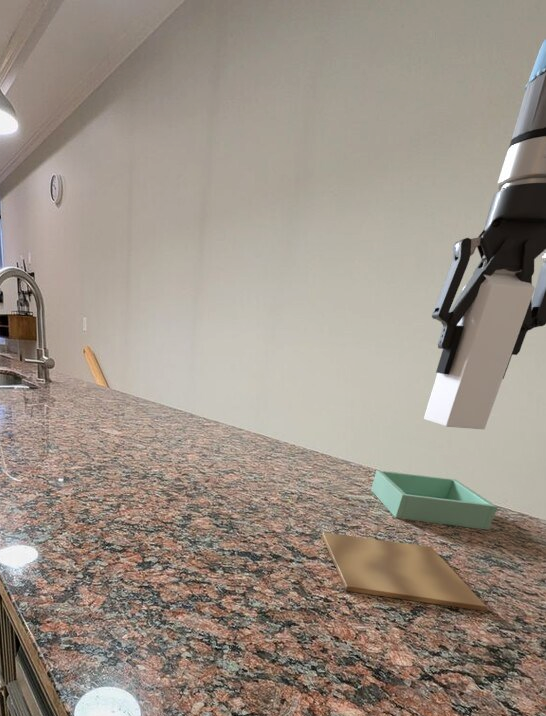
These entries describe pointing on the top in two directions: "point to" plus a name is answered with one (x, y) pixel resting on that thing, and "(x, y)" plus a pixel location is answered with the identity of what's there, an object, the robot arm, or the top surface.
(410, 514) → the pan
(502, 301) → the milk
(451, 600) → the cork mat
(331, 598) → the top surface
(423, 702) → the top surface
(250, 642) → the top surface
